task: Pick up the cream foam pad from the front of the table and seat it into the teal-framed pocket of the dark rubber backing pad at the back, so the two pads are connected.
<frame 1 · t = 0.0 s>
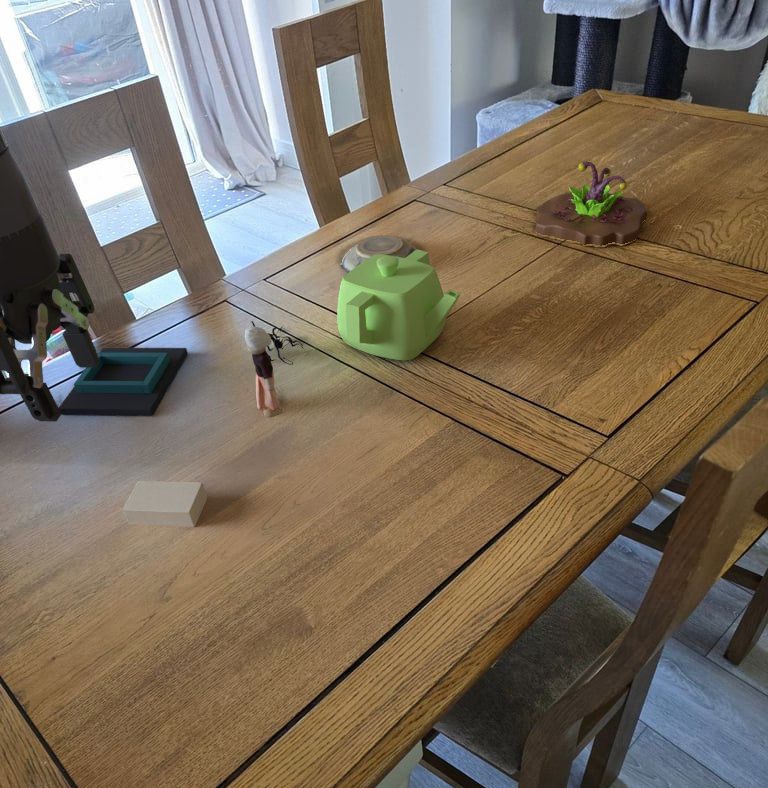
hand: (70, 391, 65), 21 cm above the table, tool pointing down, fingers open, 8 cm apart
decorative bowl: (381, 265, 127), on the table
backing pad: (127, 383, 105), on the table
grandmother figurine: (272, 410, 97), on the table
teapot: (404, 344, 107), on the table
plant: (588, 225, 132), on the table
creature: (280, 355, 107), on the table
cream pad: (172, 519, 83), on the table
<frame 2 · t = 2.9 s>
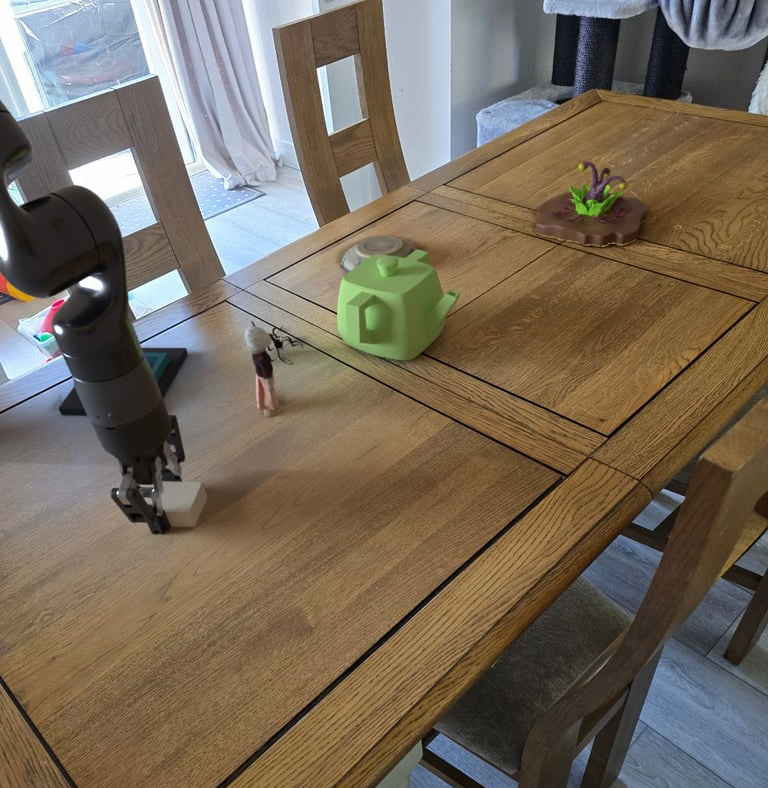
hand: (171, 516, 83), 1 cm above the table, tool pointing down, fingers closed on cream pad, 5 cm apart
cream pad: (172, 519, 83), on the table, touching gripper
everything else where it was.
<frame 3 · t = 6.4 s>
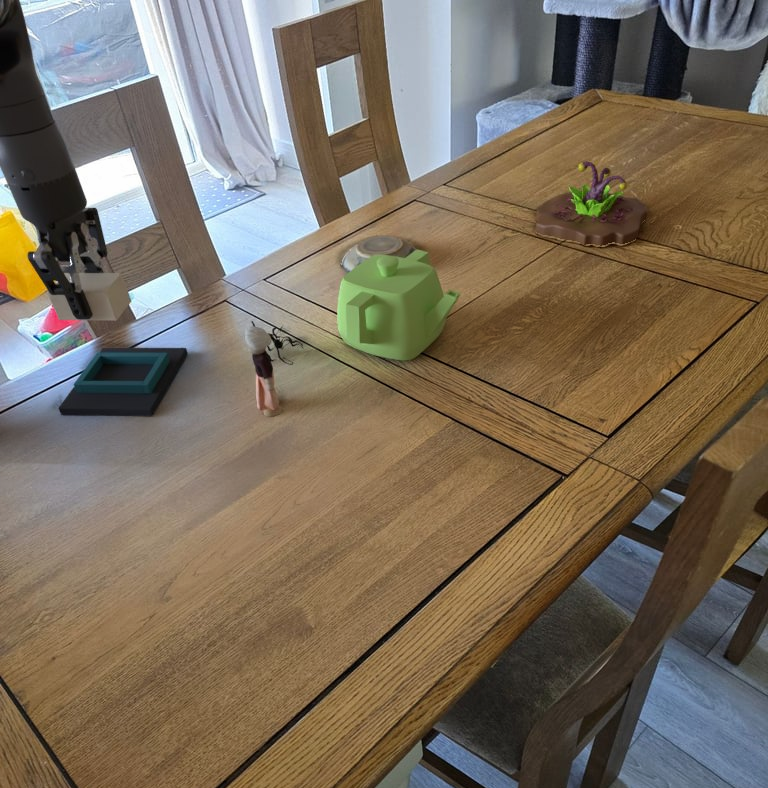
hand: (93, 306, 90), 15 cm above the table, tool pointing down, fingers closed on cream pad, 5 cm apart
cream pad: (95, 310, 91), point 15 cm above the table, touching gripper
everything else where it was.
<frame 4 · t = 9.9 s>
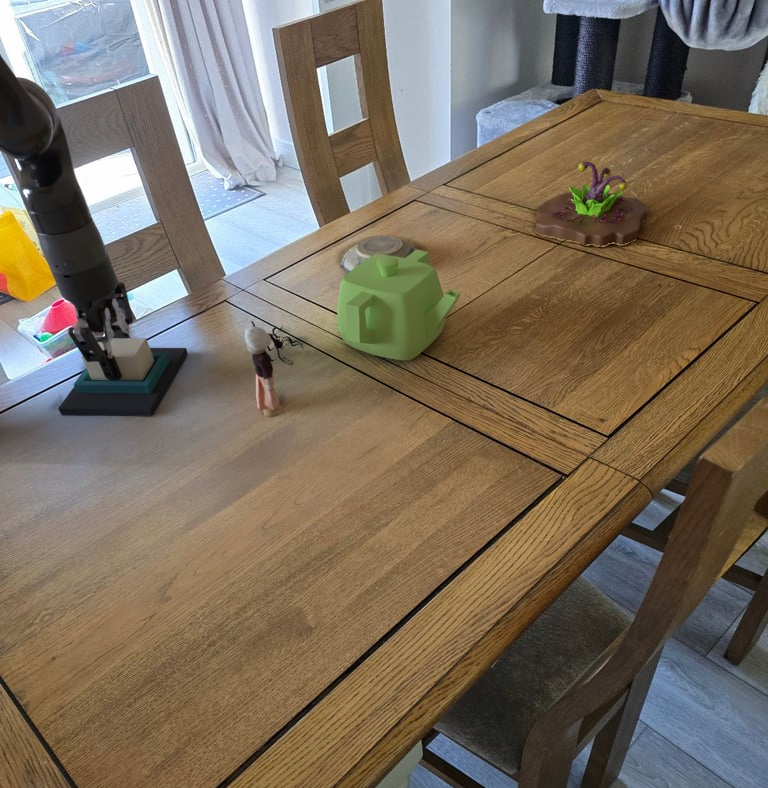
hand: (121, 367, 103), 3 cm above the table, tool pointing down, fingers closed on cream pad, 5 cm apart
cream pad: (123, 370, 103), point 2 cm above the table, touching gripper
everything else where it was.
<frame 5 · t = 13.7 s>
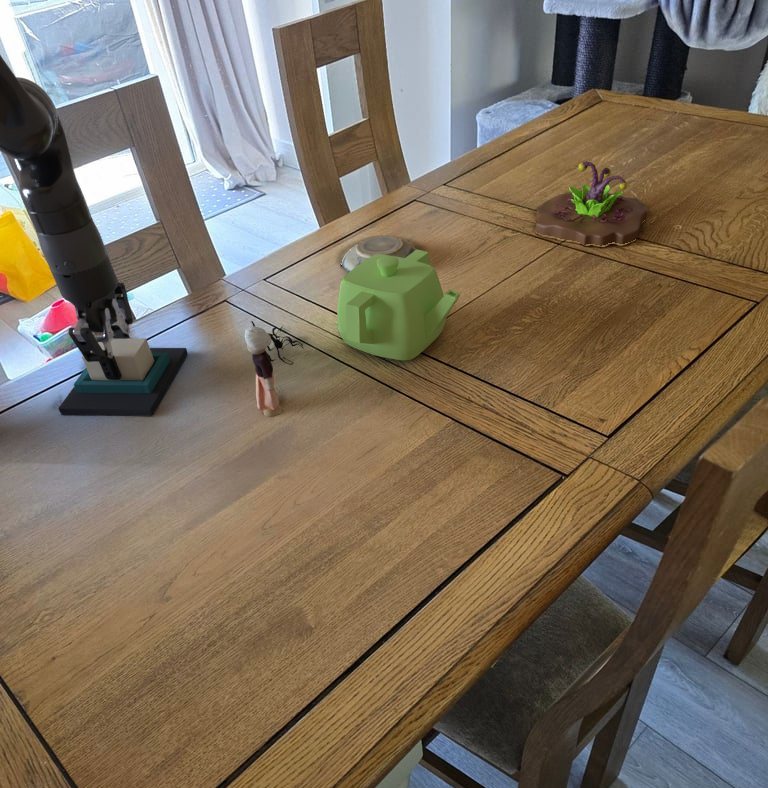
hand: (121, 367, 103), 3 cm above the table, tool pointing down, fingers closed on cream pad, 5 cm apart
cream pad: (123, 371, 103), point 2 cm above the table, touching gripper
everything else where it was.
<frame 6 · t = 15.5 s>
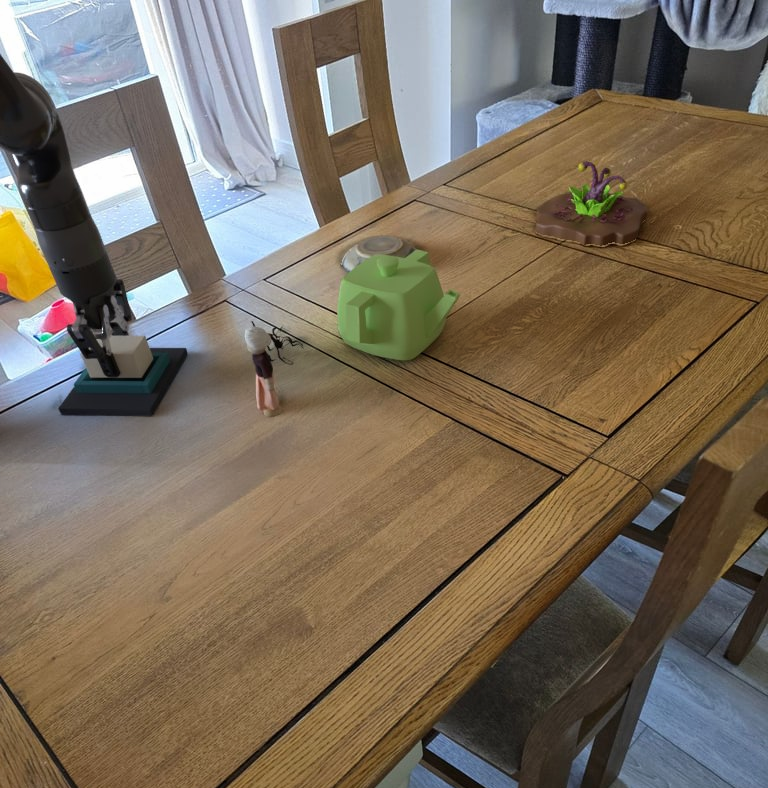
hand: (120, 364, 103), 3 cm above the table, tool pointing down, fingers closed on cream pad, 5 cm apart
cream pad: (122, 368, 103), point 3 cm above the table, touching gripper
everything else where it was.
when the fingers open (3 cm above the table, at t = 17.1 s): cream pad drops 2 cm, resting on backing pad.
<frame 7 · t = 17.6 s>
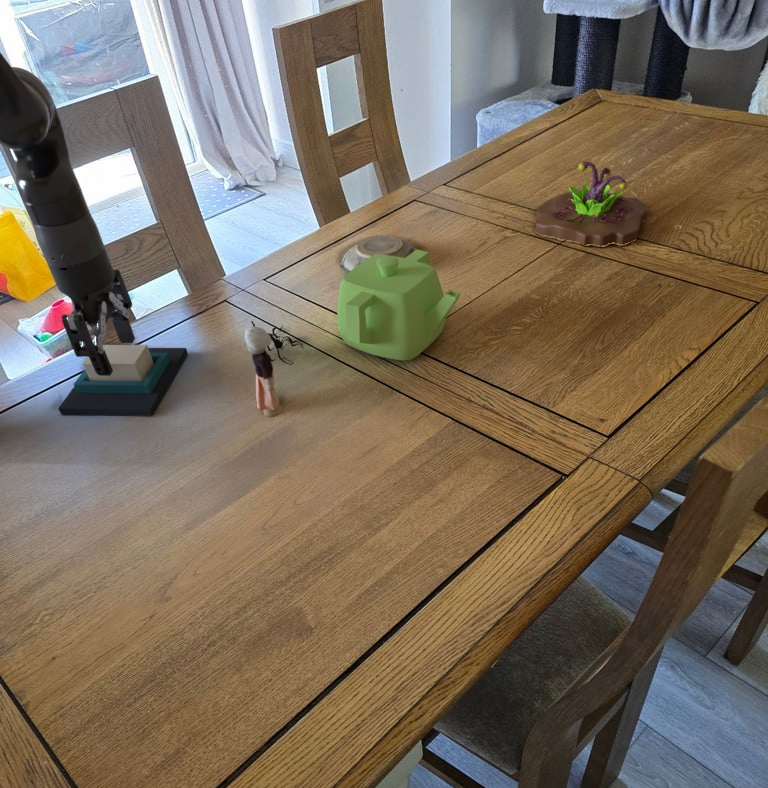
hand: (117, 357, 102), 5 cm above the table, tool pointing down, fingers open, 8 cm apart
cream pad: (124, 377, 104), point 1 cm above the table, touching backing pad
everything else where it was.
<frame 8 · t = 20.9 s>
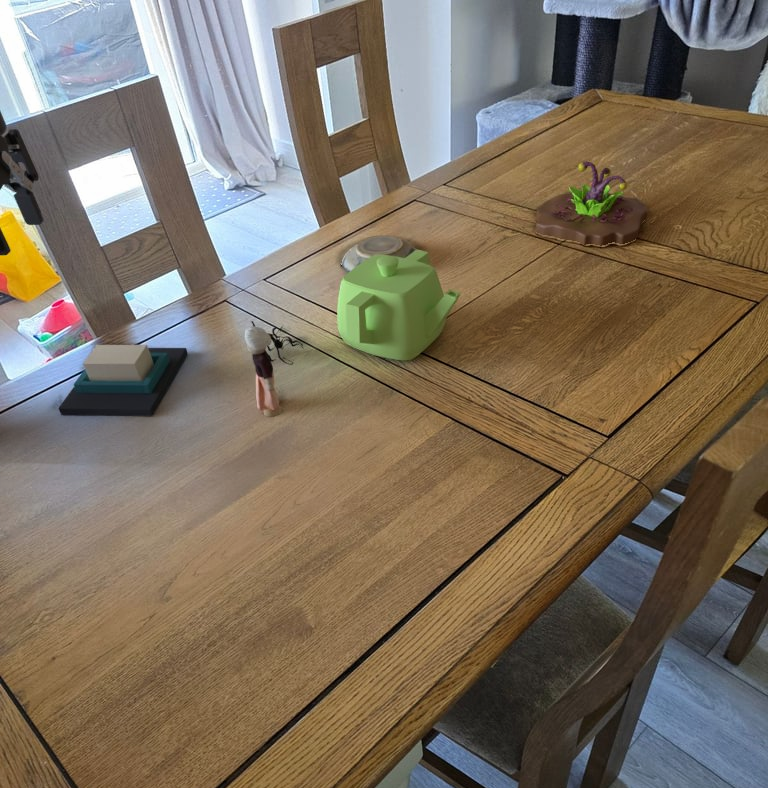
hand: (19, 238, 86), 24 cm above the table, tool pointing down, fingers open, 8 cm apart
nothing on the table moved.
at the end: cream pad 0.1 cm off-centre on the backing pad, point 1.2 cm above the backing pad's base; cream pad tilted 0°; the gripper is holding nothing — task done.
